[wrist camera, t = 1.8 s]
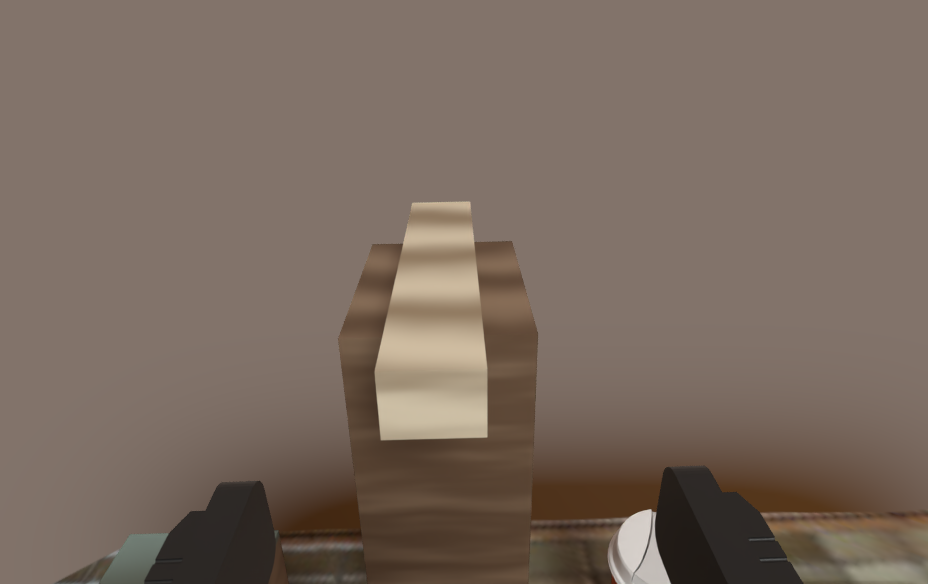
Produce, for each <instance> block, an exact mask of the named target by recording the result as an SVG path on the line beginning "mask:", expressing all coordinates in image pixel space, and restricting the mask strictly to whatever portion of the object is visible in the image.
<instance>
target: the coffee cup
mask: <svg viewBox="0 0 928 584" xmlns="http://www.w3.org/2000/svg"><path fill="white" fill-rule="evenodd" d="M655 518H656V512H652V514H651V510H645V511H642V512H638V513H636V514H634V515H632V516H631V517H630V518H628V519H627V520H626V521H625V522H624V523H623V524H622V525H621V527H620V528H619V529H618V530H617V532H616V533H615V534H614V535H613V537H612V539H611V541H610V544H609V547H608V564H609V567H610V570H611V573H612V583H611V584H671V583H670V581H669V578H668V575H667V573H666V570H665V568H664V565H663V562H662V560H661V557H660V554H659V551H658V548H657V543H656V537H655Z"/></svg>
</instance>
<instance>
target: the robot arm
mask: <svg viewBox="0 0 928 584" xmlns="http://www.w3.org/2000/svg"><path fill="white" fill-rule="evenodd" d="M655 537H656V543H657V548H658V551H659V554H660V557H661V560H662V562H663V565H664V568H665V570H666V573H667V575H668V578H669V581H670V583H671V584H803V582H802V581H801V579H800V577H799V576H798V574H797V572H796V571H795V569H794V568H793V566H792V564H791V563H790V562H788V561H787V556H786V554H785V553H784V551H783V550H782V548H781V546H780V545H779V543H778V541H775V538H774V537H775V536H774V535H773V533H772V532H771V530H770V528H769V527H768V525H767V523H766V522H765V520H764V519H763V517H762V515H761V514H760V512H759V511H758V510H756V509H755V508H754V507H753V506H752V505H751V504H749V503H748V502H747V501H746V500H745V499H744V498H743V497H741V496H740V495H739V494H738V493H737V492H724V493H722V491H721V490H720V488H719V486H718V484H717V482H716V480H715V479H714V477H713V475H712V473H711V472H710V471H709V469H708V468H707V467H706V466H680V467H667V468H665V470H664V472H663V478H662V483H661V489H660V495H659V500H658V506H657V512H656V518H655ZM275 551H276V539H275V532H274V528H273V524H272V520H271V515H270V511H269V507H268V503H267V499H266V494H265V490H264V486H263V484H262V483H261V482H260V481H246V482H222V483H220V484H219V485H218V486H217V488H216V490H215V492H214V494H213V496H212V498H211V500H210V502H209V504H208V506H207V509H206V511H192V512H190V513H189V514H188V515H187V516H186V517H185V518H184V519H183V520H182V521H181V522H180V523H179V524H178V525H177V526H176V527H175V528H174V529H173V530H172V531H171V532H170V533H169V534H168V536H167V538H166V540H165V542H164V543H163V545H162V547H161V549H160V551H159V553H158V555H157V557H156V559H155V564H153V565H152V567H151V568H150V570H149V572H148V574H147V576H146V578H145V580H144V584H268V583H269V579H270V576H271V573H272V569H273V565H274V560H275Z"/></svg>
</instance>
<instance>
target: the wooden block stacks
mask: <svg viewBox="0 0 928 584" xmlns="http://www.w3.org/2000/svg"><path fill="white" fill-rule="evenodd" d="M474 245H475V255H476V265H477V274H478V284H479V293H480V303H481V313H482V322H483V332H484V342H485V351H486V361H487V437H485V438H447V439H409V440H381V436H380V426H379V415H378V404H377V394H376V383H375V367H376V363H377V358H378V354H379V349H380V345H381V341H382V336H383V332H384V327H385V323H386V318H387V314H388V309H389V305H390V301H391V296H392V292H393V287H394V283H395V278H396V274H397V269H398V265H399V261H400V256H401V252H402V247H403V244H373V245H372V248H371V251H370V253H369V256H368V259H367V261H366V264H365V267H364V270H363V272H362V275H361V278H360V281H359V283H358V286H357V289H356V291H355V294H354V297H353V300H352V302H351V305H350V308H349V311H348V314H347V316H346V319H345V321H344V324H343V327H342V330H341V332H340V335H339V338H338V341H339V350H340V358H341V367H342V374H343V382H344V392H345V400H346V408H347V416H348V425H349V433H350V442H351V449H352V458H353V465H354V466H353V467H354V475H355V483H356V492H357V500H358V508H359V516H360V525H361V533H362V541H363V550H364V558H365V566H366V575H367V583H368V584H528V579H529V553H530V528H531V501H532V476H533V449H534V425H535V424H534V423H535V399H536V374H537V345H538V332H537V328H536V325H535V321H534V318H533V314H532V311H531V307H530V304H529V300H528V296H527V293H526V289H525V286H524V282H523V279H522V275H521V272H520V268H519V265H518V261H517V258H516V254H515V250H514V247H513V243H512V241H505V242H504V241H502V242H474ZM274 532H275V539H276V551H275V560H274V565H273V569H272V573H271V576H270V579H269V583H268V584H289V582H288V577H287V572H286V567H285V561H284V556H283V551H282V546H281V541H280V536H279V531H278V530H274ZM168 534H169V533H165V534H164V533H163V534H131V535H129V537H128V538H127V540H126V541H125V543H124V545H123V546H122V548H121V549H120V551H119V552H118V554H117V555H116V557H115V559H114V560H113V562H112V563H111V565H110V566H109V568H108V570H107V571H106V573H105V574H104V576H103V578H102V579H101V581H100V582H99V584H144V580H145V578H146V576H147V574H148V572H149V570H150V568H151V567H152V565H153V564H155V559H156V557H157V555H158V553H159V551H160V549H161V547H162V545H163V543H164V542H165V540H166V538H167V536H168Z"/></svg>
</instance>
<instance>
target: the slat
mask: <svg viewBox="0 0 928 584" xmlns="http://www.w3.org/2000/svg"><path fill="white" fill-rule="evenodd" d="M375 383H376V394H377V404H378V415H379V426H380V436H381V440H409V439H447V438H485V437H487V361H486V351H485V342H484V332H483V322H482V313H481V303H480V293H479V284H478V274H477V265H476V255H475V245H474V236H473V226H472V217H471V207H470V202H431V203H412V208H411V212H410V216H409V221H408V225H407V230H406V234H405V238H404V243H403V247H402V252H401V256H400V261H399V265H398V269H397V274H396V278H395V283H394V287H393V292H392V296H391V301H390V305H389V309H388V314H387V318H386V323H385V327H384V332H383V336H382V341H381V345H380V349H379V354H378V358H377V363H376V367H375Z"/></svg>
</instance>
